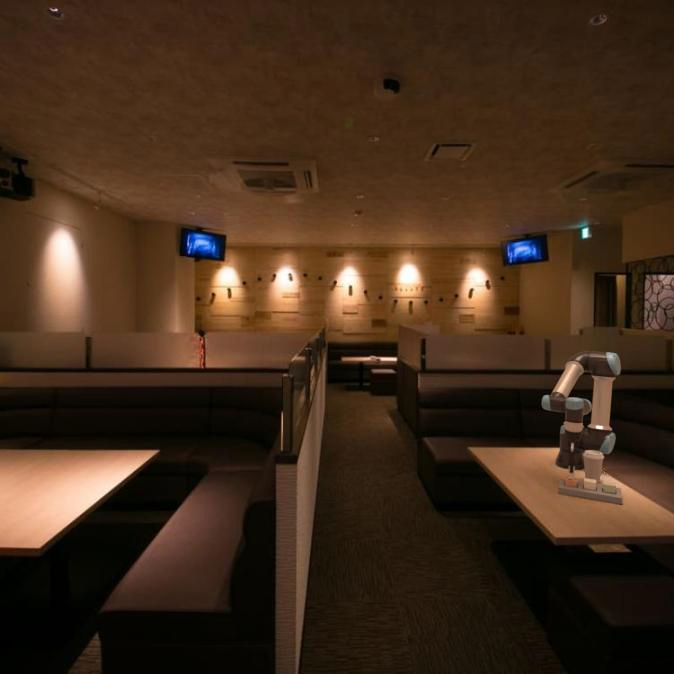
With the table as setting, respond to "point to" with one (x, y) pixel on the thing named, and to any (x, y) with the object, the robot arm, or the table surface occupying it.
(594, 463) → the coffee cup
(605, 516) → the table surface
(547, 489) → the table surface
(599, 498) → the keypad board
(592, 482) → the ivory key
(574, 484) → the terracotta key
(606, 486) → the sage key
